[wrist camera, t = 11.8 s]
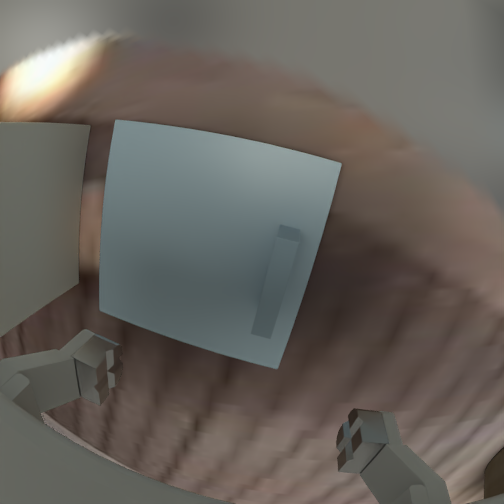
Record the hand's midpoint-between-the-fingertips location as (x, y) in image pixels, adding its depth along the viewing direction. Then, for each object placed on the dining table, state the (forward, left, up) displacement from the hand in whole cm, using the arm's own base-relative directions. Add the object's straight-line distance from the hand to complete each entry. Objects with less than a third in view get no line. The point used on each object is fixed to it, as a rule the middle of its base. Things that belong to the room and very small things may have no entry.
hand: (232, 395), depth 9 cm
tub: (0, +23, -13) cm, 27 cm away
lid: (0, +5, -12) cm, 13 cm away
